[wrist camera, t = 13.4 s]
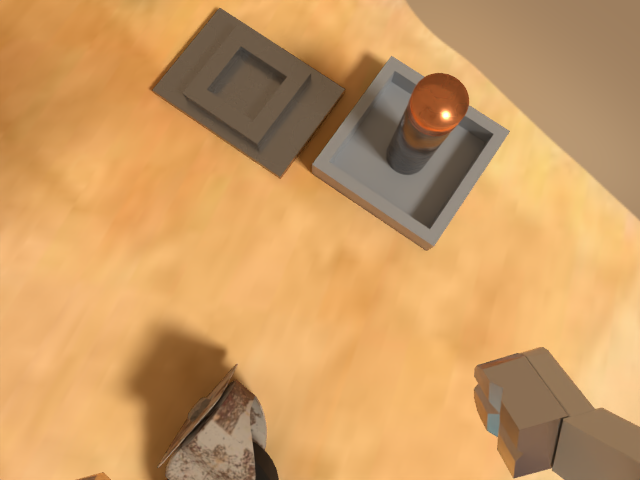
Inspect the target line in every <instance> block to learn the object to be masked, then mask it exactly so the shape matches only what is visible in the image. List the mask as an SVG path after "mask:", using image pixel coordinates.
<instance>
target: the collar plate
mask: <svg viewBox="0 0 640 480" xmlns="http://www.w3.org/2000/svg"><path fill="white" fill-rule="evenodd" d="M153 92H154V93H155V94H156V95H158V96H159V97H161V98H162V99H164V100H165V101H166V102H168V103H169V104H171V105H172V106H174V107H175V108H177V109H178V110H180V111H181V112H183V113H184V114H186V115H187V116H189V117H190V118H191V119H193V120H194V121H196V122H197V123H199V124H200V125H202V126H203V127H205V128H206V129H208V130H209V131H211V132H212V133H213V134H215V135H216V136H218V137H219V138H221V139H222V140H224V141H225V142H227V143H228V144H230V145H231V146H233V147H234V148H236V149H237V150H238V151H240V152H241V153H243V154H244V155H246V156H247V157H249V158H250V159H252V160H253V161H255V162H256V163H258V164H259V165H261V166H262V167H263V168H265V169H266V170H268V171H269V172H271V173H272V174H274V175H275V176H277V177H278V178H280V179H281V178H282V176H283V175H284V174H285V172H286V171H287V170H288V168H289V167H290V166H291V164H292V163H293V161H294V160H295V159H296V157H297V156H298V155H299V153H300V152H301V151H302V149H303V148H304V147H305V145H306V144H307V143H308V141H309V140H310V138H311V137H312V136H313V134H314V133H315V132H316V130H317V129H318V128H319V126H320V125H321V124H322V122H323V121H324V120H325V118H326V117H327V115H328V114H329V113H330V111H331V110H332V109H333V107H334V106H335V105H336V103H337V102H338V101H339V99H340V98H341V97H342V95H343V94H344V93H345V89H344V88H342V87H341V86H339V85H338V84H336V83H335V82H333V81H332V80H330V79H329V78H327V77H326V76H324V75H322V74H321V73H319V72H318V71H316V70H315V69H313V68H312V67H310V66H309V65H307V64H306V63H304V62H302V61H301V60H299V59H298V58H296V57H295V56H293V55H292V54H290V53H289V52H287V51H286V50H284V49H283V48H281V47H279V46H278V45H276V44H275V43H273V42H272V41H270V40H269V39H267V38H266V37H264V36H263V35H261V34H259V33H258V32H256V31H255V30H253V29H252V28H250V27H249V26H247V25H246V24H244V23H243V22H241V21H240V20H238V19H236V18H235V17H233V16H232V15H230V14H229V13H227V12H226V11H224V10H223V9H221V8H219V9H218V10H217V12H216V13H215V14H214V15H213V17H212V18H211V19H210V20H209V21H208V23H207V24H206V25H205V26H204V28H203V29H202V30H201V31H200V32H199V34H198V35H197V36H196V37H195V39H194V40H193V41H192V42H191V43H190V45H189V46H188V47H187V48H186V50H185V51H184V52H183V53H182V54H181V56H180V57H179V58H178V59H177V61H176V62H175V63H174V64H173V65H172V67H171V68H170V69H169V70H168V72H167V73H166V74H165V75H164V76H163V78H162V79H161V80H160V81H159V83H158V84H157V85H156V86H155V87H154V89H153Z"/></svg>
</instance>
